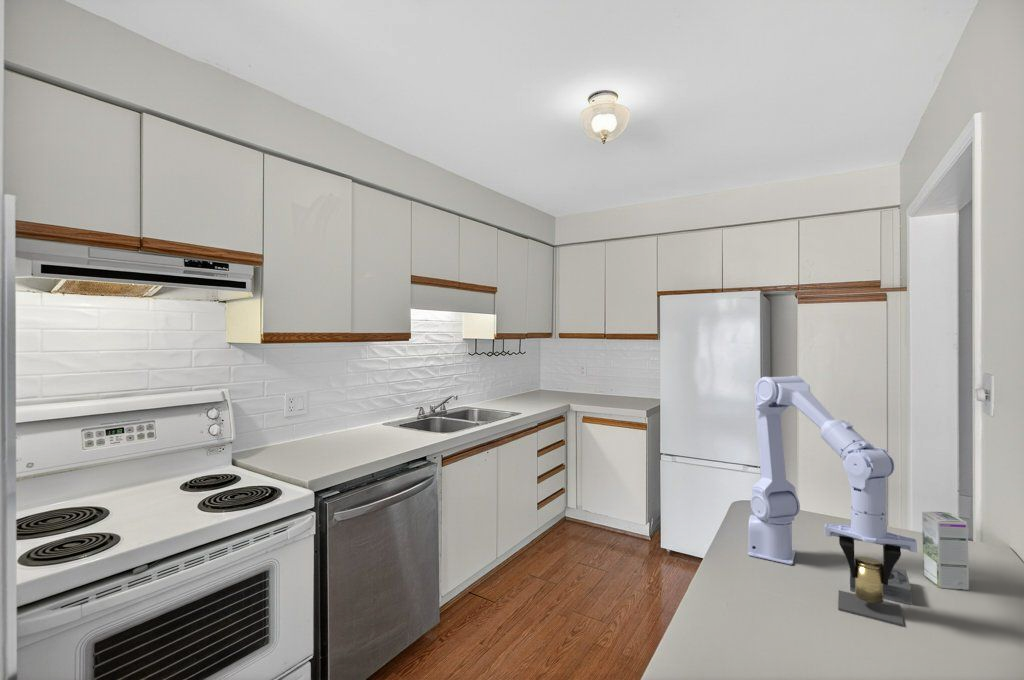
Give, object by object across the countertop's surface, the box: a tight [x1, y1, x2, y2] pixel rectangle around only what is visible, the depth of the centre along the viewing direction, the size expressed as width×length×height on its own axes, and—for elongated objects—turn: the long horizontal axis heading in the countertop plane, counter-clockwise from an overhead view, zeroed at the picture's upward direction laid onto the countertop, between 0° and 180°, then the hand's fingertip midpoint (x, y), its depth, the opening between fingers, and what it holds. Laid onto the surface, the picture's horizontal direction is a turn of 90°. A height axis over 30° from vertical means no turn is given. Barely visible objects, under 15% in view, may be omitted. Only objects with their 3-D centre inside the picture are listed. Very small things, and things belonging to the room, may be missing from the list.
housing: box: [849, 558, 912, 605], centre depth 104 cm, size 10×10×3 cm
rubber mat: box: [837, 590, 904, 627], centre depth 96 cm, size 10×8×1 cm
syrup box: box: [921, 511, 970, 591], centre depth 105 cm, size 6×6×14 cm
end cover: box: [854, 556, 884, 604], centre depth 96 cm, size 4×4×7 cm
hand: (868, 579), depth 96 cm, fingers closed on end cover, 4 cm apart
